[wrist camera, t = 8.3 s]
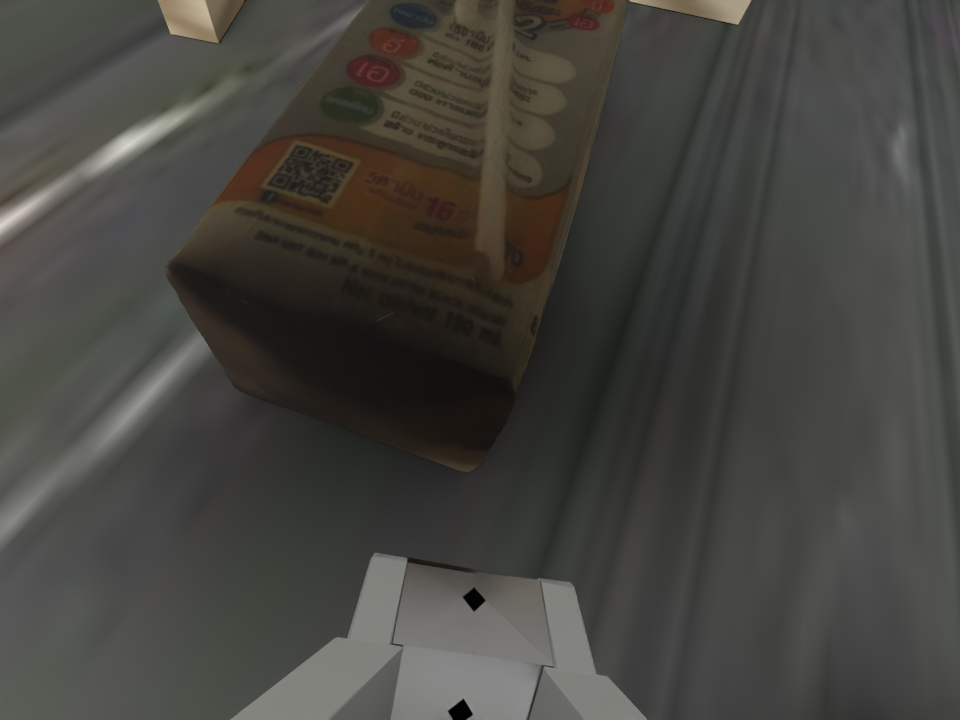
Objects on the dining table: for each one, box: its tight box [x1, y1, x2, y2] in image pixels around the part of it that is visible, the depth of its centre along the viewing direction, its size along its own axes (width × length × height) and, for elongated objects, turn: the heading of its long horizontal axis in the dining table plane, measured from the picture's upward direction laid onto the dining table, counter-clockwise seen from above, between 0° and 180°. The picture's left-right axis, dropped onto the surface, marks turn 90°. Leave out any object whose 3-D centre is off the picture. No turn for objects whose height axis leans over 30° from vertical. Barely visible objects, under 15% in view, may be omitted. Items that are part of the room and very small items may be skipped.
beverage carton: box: [165, 0, 629, 472], centre depth 17 cm, size 8×19×7 cm, turn 164°
